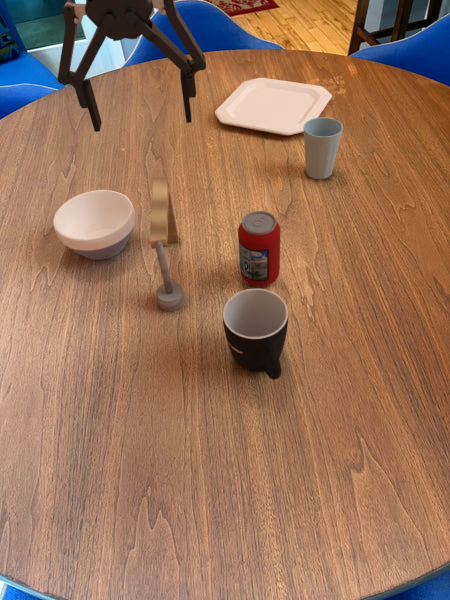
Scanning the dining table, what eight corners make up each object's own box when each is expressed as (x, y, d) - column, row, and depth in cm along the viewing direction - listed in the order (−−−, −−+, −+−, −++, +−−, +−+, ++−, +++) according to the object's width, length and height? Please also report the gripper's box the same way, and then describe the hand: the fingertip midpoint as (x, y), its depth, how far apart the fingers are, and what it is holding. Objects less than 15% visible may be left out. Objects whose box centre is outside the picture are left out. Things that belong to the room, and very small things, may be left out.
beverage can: (232, 275, 84) (228, 222, 75) (260, 256, 86) (259, 202, 77) (260, 296, 80) (258, 242, 71) (287, 275, 83) (290, 221, 74)
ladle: (184, 310, 79) (172, 248, 69) (158, 312, 79) (142, 251, 69) (184, 237, 91) (173, 176, 81) (161, 239, 91) (147, 178, 81)
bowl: (90, 215, 98) (80, 184, 92) (154, 228, 94) (147, 196, 88) (50, 263, 89) (35, 231, 83) (118, 279, 85) (108, 247, 79)
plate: (248, 83, 132) (248, 75, 130) (336, 96, 124) (337, 87, 122) (207, 126, 118) (206, 118, 116) (303, 145, 110) (303, 136, 108)
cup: (304, 159, 106) (307, 115, 98) (339, 164, 104) (345, 118, 96) (297, 179, 101) (299, 134, 93) (333, 184, 99) (339, 138, 91)
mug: (218, 342, 74) (212, 299, 67) (271, 324, 76) (271, 280, 68) (248, 406, 67) (245, 366, 59) (306, 384, 68) (310, 342, 61)
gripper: (213, -67, 58) (225, 102, 74) (8, -47, 58) (64, 118, 74) (216, -51, 53) (228, 127, 69) (-7, -29, 53) (56, 144, 69)
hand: (143, 122), depth 71 cm, fingers open, 13 cm apart
